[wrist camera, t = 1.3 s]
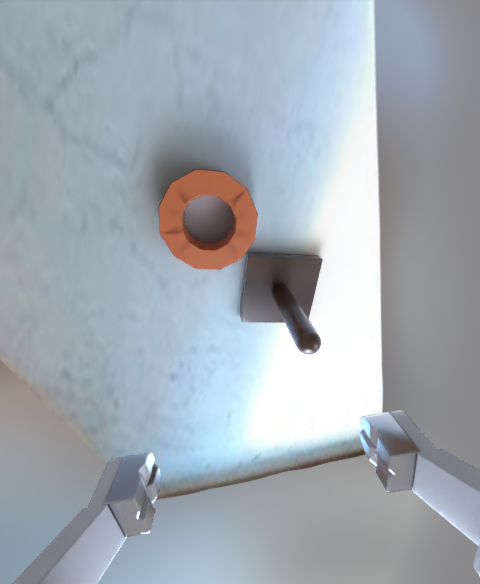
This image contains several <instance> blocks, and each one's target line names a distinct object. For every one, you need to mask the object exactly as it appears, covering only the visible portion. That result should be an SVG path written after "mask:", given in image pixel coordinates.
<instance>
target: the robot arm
mask: <svg viewBox="0 0 480 584" xmlns="http://www.w3.org/2000/svg"><path fill="white" fill-rule="evenodd" d="M361 425H362V427H363V430H362V431H361V442H362V446H363V449H364V451H365V453H366V455H367V457H368V459H369V460H370V461H371V462H372V463H374V464H375V465H376V473H377V475H378V477H379V479H380V480H381V482H382V484H383V486H384V487H385V489H386V491H387V493H389V492H397V491H405V490H412V489H413V490H412V491H413V492H414V493H416V494H417V495H418V496H419V497H420V498H421V499H423V500H424V501H425V502H426V503H427V504H429V505H430V506H431V507H432V508H433V509H435V510H436V511H437V512H438V513H439V514H441V515H442V516H443V517H444V518H445V519H447V520H448V521H449V522H450V523H451V524H453V525H454V526H455V527H456V528H457V529H459V530H460V531H461V532H462V533H464V534H465V535H466V536H467V537H468V538H469V539H471V540H472V541H473V542H474V543H476V544H477V545H478V550H477V553H476V556H475V559H474V568H475V570H476V571H477V573H478V574H479V576H480V470H478V469H477V468H475V467H473V466H472V465H470V464H468V463H466V462H464V461H463V460H461V459H459V458H457V457H455V456H454V455H452V454H450V453H448V452H446V451H444V450H443V449H437V448H436V447H435V446H434V445H433V444H432V443H431V442H430V440H429V439H428V438H427V437H426V436H425V435H424V433H423V432H422V431H421V430H420V429H419V428H418V426H417V425H416V424H415V423H414V422H413V421H412V420H411V418H410V417H409V416H408V415H407V414H406V413H405V412H404V411H403V410H398V411H392V412H385V413H379V414H374V415H368V416H363V417H362V418H361ZM154 460H155V457H154V455H153V453H144V454H137V455H129V456H122V457H116V458H112V459H111V460H110V461H109V462H108V463H107V466H106V468H105V470H104V472H103V474H102V477H101V479H100V481H99V483H98V486H97V488H96V490H95V492H94V494H93V497H92V499H91V501H90V503H89V505H88V508H84V509H82V510H81V512H80V513H79V514H78V515H77V516H76V517H75V518H74V519H73V520H72V521H71V522H70V523H69V524H68V525H67V526H66V527H65V528H64V529H63V531H62V532H61V533H60V534H59V535H58V536H57V537H56V538H55V539H54V540H53V541H52V542H51V543H50V544H49V545H48V546H47V547H46V548H45V549H44V551H43V552H42V553H41V554H40V555H39V556H38V557H37V558H36V559H35V560H34V561H33V562H32V563H31V564H30V565H29V566H28V567H27V569H26V570H25V571H24V572H23V573H22V574H21V575H20V576H19V577H18V578H17V579H16V580H15V581H14V582H13V583H12V584H97V583H98V581H99V580H100V578H101V577H102V575H103V574H104V572H105V570H106V569H107V567H108V566H109V564H110V563H111V561H112V560H113V558H114V557H115V555H116V554H117V552H118V550H119V549H120V547H121V546H122V544H123V543H124V541H125V540H126V538H125V537H130V536H135V535H140V534H144V533H149V532H150V530H151V526H152V522H153V517H154V513H155V508H154V505H153V502H154V501H155V499H156V498H157V497H158V495H159V491H160V484H161V475H160V470H159V467H158V466H157V465H155V464H154Z"/></svg>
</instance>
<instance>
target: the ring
mask: <svg viewBox="0 0 480 584" xmlns="http://www.w3.org/2000/svg"><path fill="white" fill-rule="evenodd" d="M201 195H211V196H218V197H219V198H221V199H222V200H224V201H225V202H227V203H228V204H229V205H230V207H231V209H232V211H233V213H234V223H233V228H232V230H231V231H230V233H229V234H228V236H227V237H226V238H225V239H223V240H221V241H219V242H217V243H215V244H213V243H202V242H200V241H198V240H197V239H195V238H193V237H192V236H191V235H190V233H189V232H188V230H187V228H186V226H185V225H184V210H185V208H186V207H187V205H188V203H189V202H190V201H192V200H193V199H195V198H197V197H199V196H201ZM257 216H258V214H257V211H256V208H255V206H254V204H253V201H252V199H251V197H250V194H249V192H248V190H247V188H246V187H244V186H243V185H242V184H240V183H239V182H238V181H236V180H235V179H233V178H232V177H231V176H229V175H228V174H227V173H225V172H223V171H213V170H201V169H196V170H194V171H192V172H190V173H188V174H186V175H185V176H183V177H181V178H179V179H177V180H175V181H174V182H172V183H171V184H170V186H169V188H168V190H167V192H166V194H165V196H164V198H163V200H162V201H161V203H160V205H159V224H160V235H161V236H162V238H163V239H164V241H165V243H166V244H167V246H168V247H169V249H170V250H171V252H172V253H173V255H174V256H175V257H176V258H178V259H180V260H182V261H184V262H185V263H187V264H189V265H191V266H192V267H194V268H196V269H222V268H224V267H226V266H228V265H230V264H232V263H234V262H236V261H238V260H240V259H242V257H243V256H244V254H245V253H246V251H247V250H248V249H249V247H250V246H251V244H252V243H253V241H254V240H255V235H256V225H257Z"/></svg>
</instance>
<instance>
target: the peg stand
mask: <svg viewBox="0 0 480 584" xmlns="http://www.w3.org/2000/svg"><path fill="white" fill-rule="evenodd" d="M321 264H322V258H320V257H319V256H311V255H289V254H267V253H247V254H246V265H245V275H244V286H243V297H242V307H241V321H242V322H285V323H286V325H287V327H288V329H289V331H290V333H291V335H292V337H293V339H294V342H295V344H296V346H297V348H298V349H299V350H300V351H301V352H302V353H305V354H313V353H315V352H317V351H318V350H319V348H320V346H321V340H320V337H319V335H318V334H317V332H316V330H315V329H314V327H313V326H312V324H311V323H310V321H309V320H308V319H309V315H310V310H311V306H312V302H313V298H314V293H315V289H316V285H317V281H318V276H319V272H320V268H321Z"/></svg>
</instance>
